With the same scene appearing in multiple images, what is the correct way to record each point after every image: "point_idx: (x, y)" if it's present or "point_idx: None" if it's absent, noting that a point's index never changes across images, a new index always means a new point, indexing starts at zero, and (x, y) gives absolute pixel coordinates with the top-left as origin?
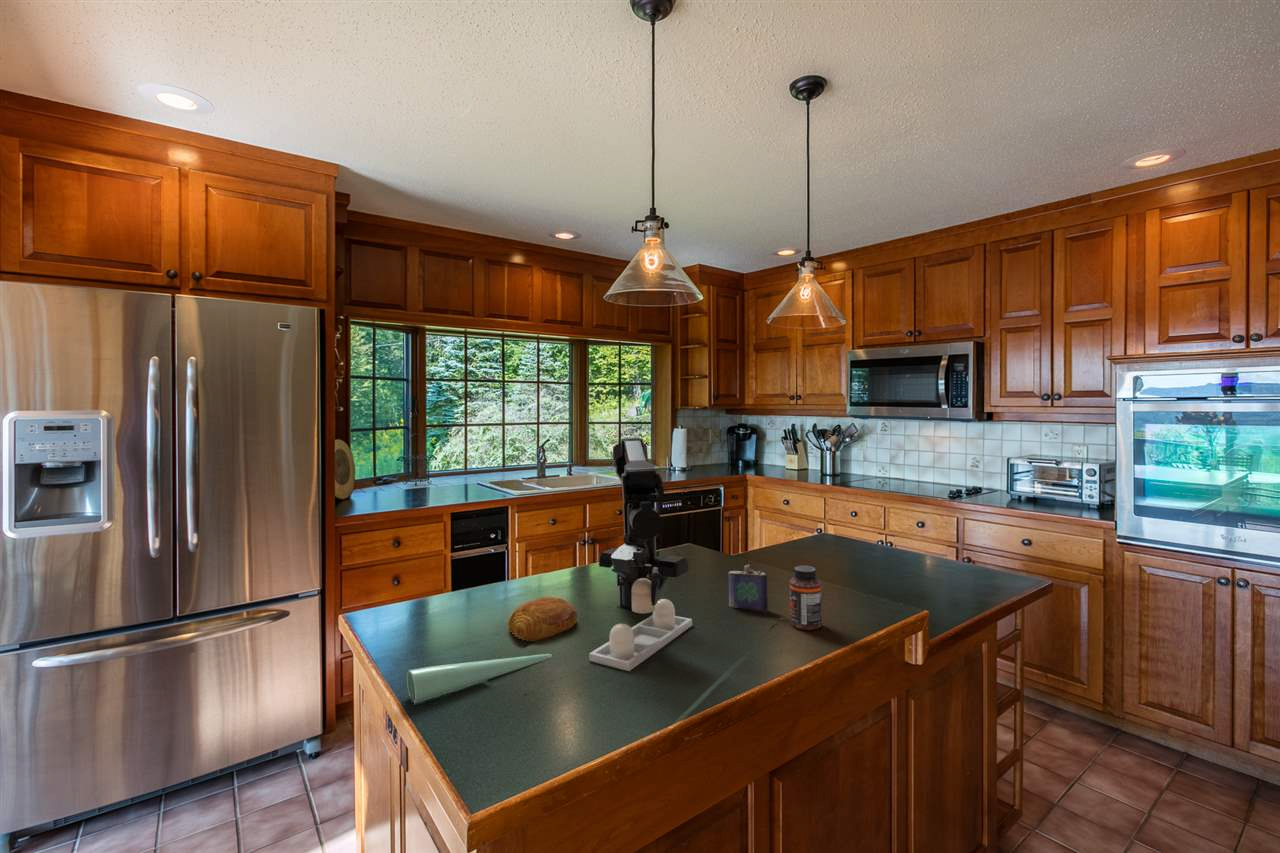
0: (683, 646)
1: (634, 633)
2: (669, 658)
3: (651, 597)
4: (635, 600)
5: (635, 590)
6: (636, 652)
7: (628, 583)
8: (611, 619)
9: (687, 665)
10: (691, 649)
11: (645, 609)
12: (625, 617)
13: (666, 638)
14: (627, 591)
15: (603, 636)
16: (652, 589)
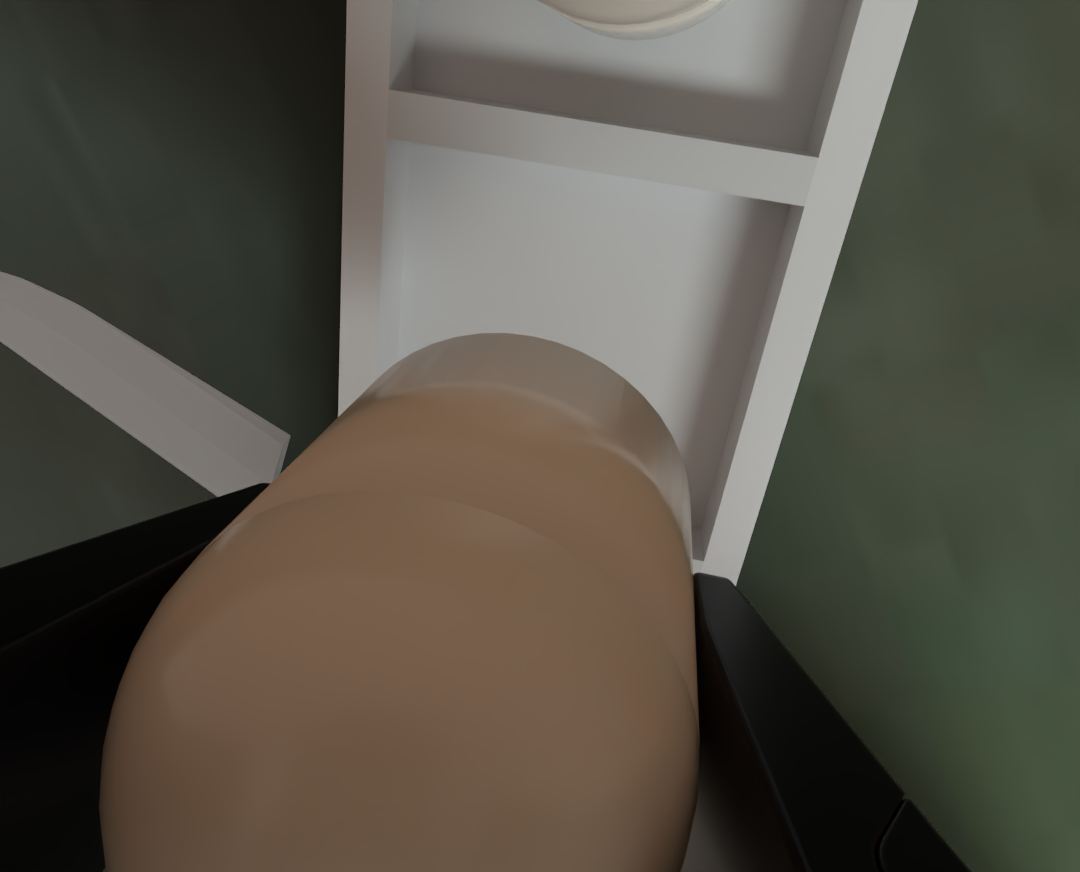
0: (258, 401)
1: (719, 472)
2: (238, 124)
3: (203, 539)
4: (526, 425)
5: (471, 557)
6: (537, 63)
7: (800, 858)
8: (1067, 762)
9: (34, 36)
10: (177, 365)
11: (380, 379)
12: (943, 810)
13: (344, 379)
14: (817, 699)
15: (1049, 406)
16: (1, 620)
